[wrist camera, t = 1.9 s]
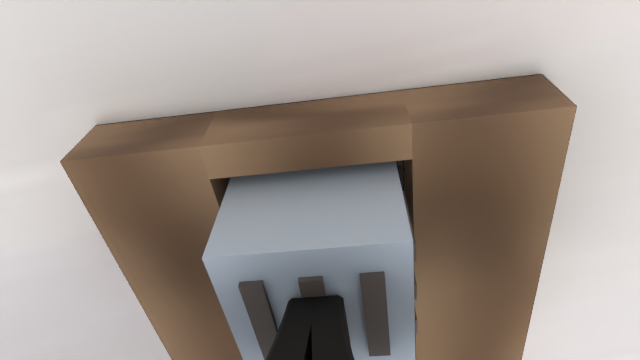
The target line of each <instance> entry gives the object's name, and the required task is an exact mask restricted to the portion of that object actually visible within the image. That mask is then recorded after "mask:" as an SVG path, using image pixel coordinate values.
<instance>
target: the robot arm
mask: <svg viewBox="0 0 640 360" xmlns="http://www.w3.org/2000/svg"><path fill="white" fill-rule="evenodd" d="M266 360H354V356H353V353H352V349H351V345H350V337H349V330H348V324H347V318H346V311H345V305H344V299H343V297H341V296H339V295H333V296H320V297H305V298H291V299H290V300H289V301H288V303H287V306H286V310H285V313H284V315H283V318H282V321H281V324H280V327H279V329H278V332H277V334H276V337H275V339H274V342H273V344H272V346H271V349H270V351H269V353H268V356H267V358H266Z"/></svg>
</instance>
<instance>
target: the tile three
mask: <svg viewBox="0 0 640 360" xmlns="http://www.w3.org/2000/svg"><path fill="white" fill-rule="evenodd" d="M202 260H203V262H204V265H205V267H206V270H207V272H208V275H209V277H210V280H211V282H212V284H213V287H214V289H215V292H216V294H217V297H218V299H219V302H220V304H221V307H222V309H223V312H224V314H225V316H226V319H227V321H228V324H229V326H230V329H231V331H232V334H233V336H234V339H235V341H236V344H237V346H238V348H239V351H240V353H241V356H242V358H243V360H266V358H267V356H268V353H269V351H270V349H271V346H272V344H273V342H274V339H275V337H276V334H277V332H278V329H279V327H280V324H281V321H282V318H283V315H284V313H285V310H286V306H287V303H288V301H289V300H290V299H291V298H305V297H320V296H333V295H339V296H341V297H343V299H344V305H345V311H346V318H347V324H348V330H349V337H350V345H351V349H352V353H353V356H354V360H415V333H417V316H416V311H415V305H414V300H417V283H416V278H415V273H414V261H416V240H415V236H414V232H413V227H412V223H411V218H410V214H409V209H408V205H407V200H406V196H405V191H404V192H402V187H401V183H400V178H399V174H398V169H397V164H396V161H391V162H380V163H370V164H360V165H350V166H340V167H330V168H320V169H309V170H299V171H289V172H279V173H269V174H259V175H249V176H238V177H231V178H230V181H229V184H228V186H227V189H226V192H225V195H224V198H223V200H222V203H221V206H220V209H219V212H218V214H217V217H216V220H215V223H214V226H213V228H212V231H211V234H210V237H209V239H208V242H207V245H206V248H205V251H204V253H203V256H202Z"/></svg>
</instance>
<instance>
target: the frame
mask: <svg viewBox="0 0 640 360" xmlns="http://www.w3.org/2000/svg"><path fill="white" fill-rule="evenodd" d="M576 108H577V106H576V105H575V104H574V103H573V102H572V101H571V100H570V99H569V98H568V97H566V96H565V95H564V94H563V93H562V92H561V91H560V90H559V89H558V88H557V87H556V86H555V85H553V84H552V83H551V82H550V81H549V80H548V79H547V78H546V77H545V76H544V75H543V74H539V75H530V76H522V77H513V78H504V79H496V80H487V81H478V82H470V83H461V84H452V85H444V86H435V87H426V88H418V89H409V90H400V91H392V92H383V93H374V94H365V95H357V96H348V97H339V98H331V99H322V100H313V101H305V102H296V103H287V104H279V105H270V106H261V107H253V108H244V109H235V110H227V111H218V112H209V113H200V114H192V115H183V116H174V117H166V118H157V119H148V120H140V121H131V122H122V123H114V124H105V125H96V126H95V127H94V128H93V129H92V130H91V131H90V132H89V133H88V134H87V135H86V136H85V137H84V138H83V139H82V140H81V141H80V142H79V143H78V144H77V145H76V146H75V147H74V148H73V149H72V150H71V151H70V152H69V153H68V154H67V155H66V156H65V157H64V158H63V159H62V160H61V161H60V163H61V164H62V166H63V168H64V170H65V171H66V173H67V175H68V177H69V178H70V180H71V182H72V184H73V186H74V187H75V189H76V191H77V193H78V194H79V196H80V198H81V200H82V201H83V203H84V205H85V207H86V209H87V210H88V212H89V214H90V216H91V217H92V219H93V221H94V223H95V224H96V226H97V228H98V230H99V231H100V233H101V235H102V237H103V239H104V240H105V242H106V244H107V246H108V247H109V249H110V251H111V253H112V254H113V256H114V258H115V260H116V262H117V263H118V265H119V267H120V269H121V270H122V272H123V274H124V276H125V277H126V279H127V281H128V283H129V285H130V286H131V288H132V290H133V292H134V293H135V295H136V297H137V299H138V300H139V302H140V304H141V306H142V308H143V309H144V311H145V313H146V315H147V316H148V318H149V320H150V322H151V323H152V325H153V327H154V329H155V331H156V332H157V334H158V336H159V338H160V339H161V341H162V343H163V345H164V346H165V348H166V350H167V352H168V354H169V355H170V357H171V359H172V360H243V358H242V356H241V353H240V351H239V348H238V346H237V344H236V341H235V339H234V336H233V334H232V331H231V329H230V326H229V324H228V321H227V319H226V316H225V314H224V312H223V309H222V307H221V304H220V302H219V299H218V297H217V294H216V292H215V289H214V287H213V284H212V282H211V280H210V277H209V275H208V272H207V270H206V267H205V265H204V262H203V260H202V256H203V253H204V251H205V248H206V245H207V242H208V239H209V237H210V234H211V231H212V228H213V226H214V223H215V220H216V217H217V214H218V212H219V209H220V206H221V203H222V200H223V198H224V195H225V192H226V189H227V186H228V184H229V181H230V178H231V177H238V176H249V175H259V174H269V173H279V172H289V171H299V170H309V169H320V168H330V167H340V166H350V165H360V164H370V163H380V162H391V161H401V160H403V161H404V191H405V196H406V200H407V205H408V209H409V214H410V218H411V223H412V227H413V232H414V236H415V240H416V261H414V273H415V278H416V283H417V300H414V305H415V311H416V316H417V333H415V360H522V355H523V351H524V346H525V341H526V337H527V332H528V328H529V323H530V318H531V314H532V309H533V305H534V300H535V296H536V291H537V286H538V282H539V277H540V273H541V268H542V264H543V259H544V254H545V250H546V245H547V241H548V236H549V232H550V227H551V222H552V218H553V213H554V209H555V204H556V199H557V195H558V190H559V186H560V181H561V177H562V172H563V167H564V163H565V158H566V154H567V149H568V145H569V140H570V135H571V131H572V126H573V122H574V117H575V113H576Z"/></svg>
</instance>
